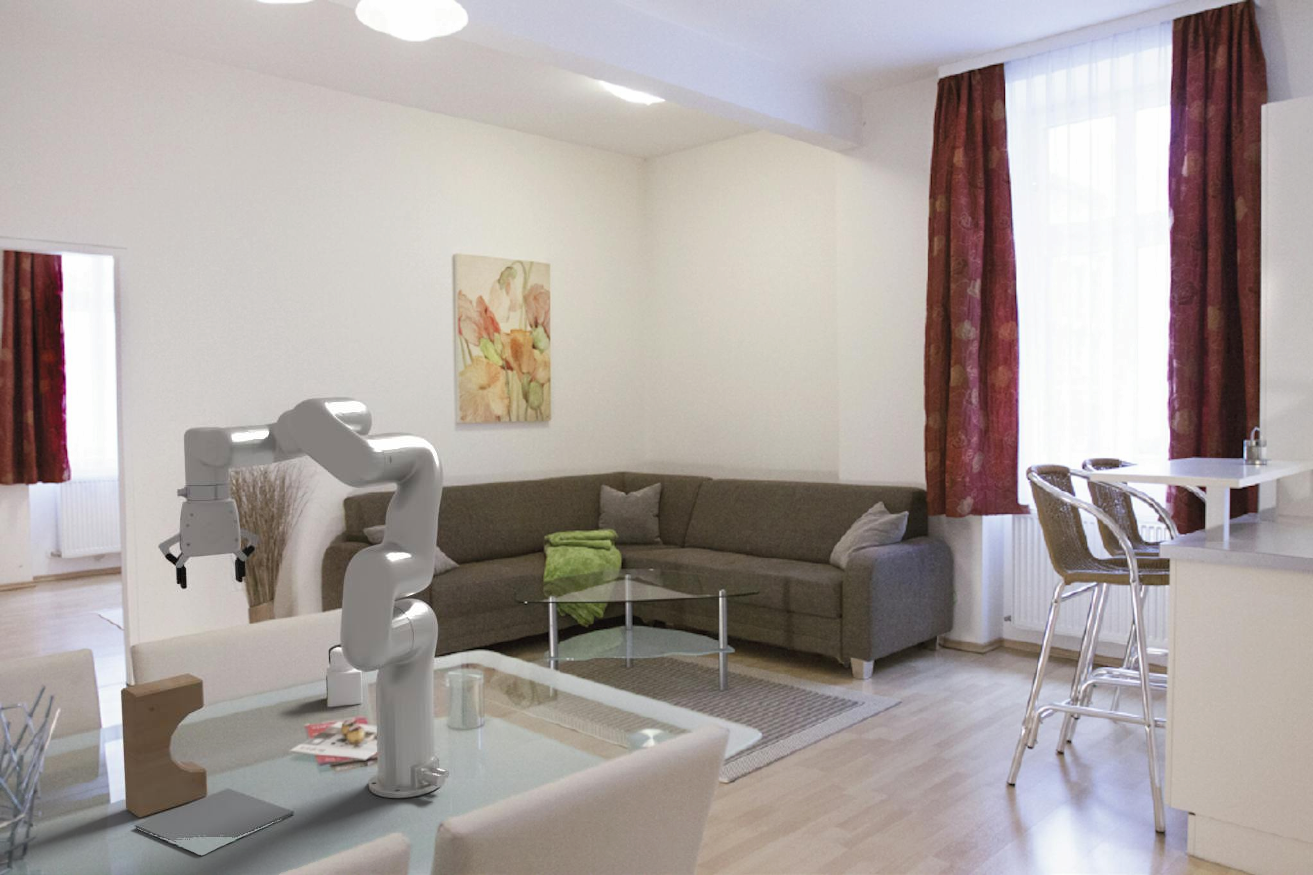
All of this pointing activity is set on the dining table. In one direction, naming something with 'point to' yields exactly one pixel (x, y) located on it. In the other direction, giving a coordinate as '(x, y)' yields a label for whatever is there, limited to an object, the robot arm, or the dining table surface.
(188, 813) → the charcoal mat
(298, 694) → the dining table surface
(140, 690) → the decorative block
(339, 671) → the medicine bottle
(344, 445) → the robot arm
